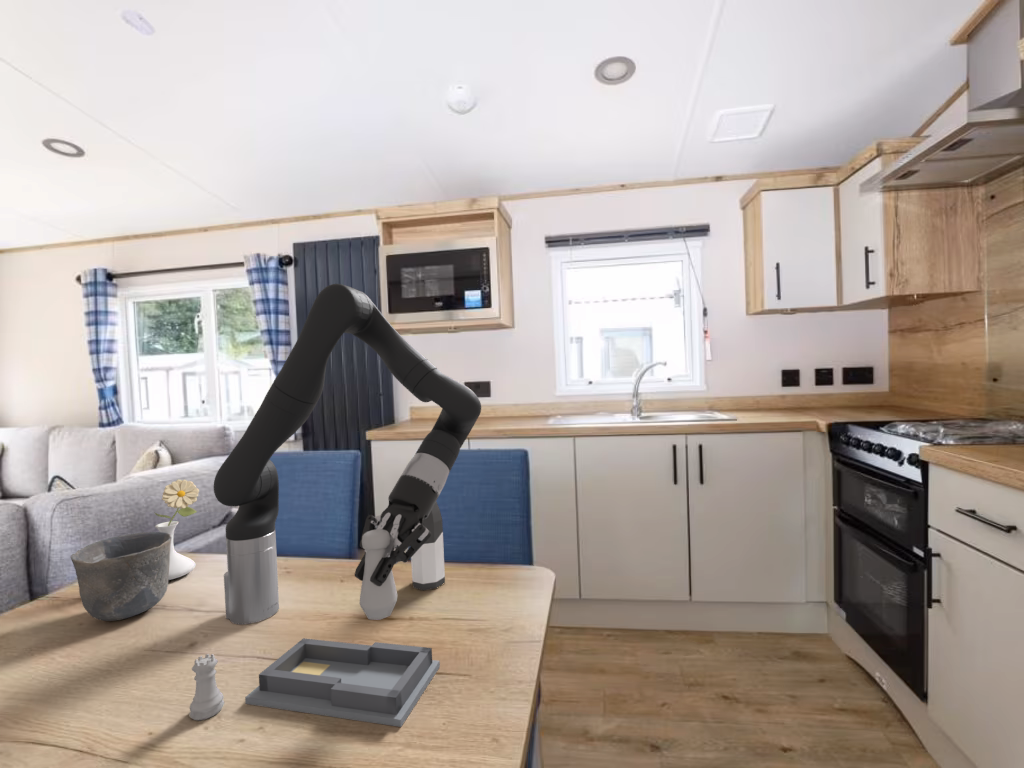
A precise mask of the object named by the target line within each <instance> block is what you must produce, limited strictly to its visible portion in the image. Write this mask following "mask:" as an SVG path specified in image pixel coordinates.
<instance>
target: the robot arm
mask: <svg viewBox="0 0 1024 768" xmlns="http://www.w3.org/2000/svg"><path fill="white" fill-rule="evenodd" d="M344 333H346V334H352V336H354V337H356V338H358V339H359V340H360V341H362V342H364V343H365V344H366V345H367V346H369V347H370V348H371V349H372V350H373V351H374V352H375V353H376V354H377V355H378V356H379V357H380V359H381V360H382V362H383V363H384V365H385V366H386V368H387V370H388V371H389V372H390V373H391V374H392V376H393V377H394V378H395V379H396V380H397V381H398V382H399V383H400V384H401V385H402V386H403V387H404V388H405V389H406V390H408V392H410V393H411V394H412V396H414V397H415V398H416V399H418V401H419V402H420V401H421V402H422V403H429V402H433V403H435V405H437V406H439V407H440V408H441V411H440V413H439V414H438V417H437V419H436V421H435V423H434V425H433V427H432V429H431V431H430V432H429V433H428V434H427V435H426V436H425V437H424V439H423V440H422V441H421V444H420V445H419V447H418V449H417V451H416V452H415V454H414V456H413V457H412V458H411V459H410V461H409V462H408V463H407V464H406V466H405V467H404V470H403V471H402V473H401V474H400V476H399V478H398V480H397V482H396V483H395V485H394V486H393V488H392V490H391V492H390V493H389V495H388V505H387V507H386V508H385V509H384V510H383V511H382V512H381V514H380V515H377V516H374V515H372V514H368V515H367V516H366V519H365V522H364V527H363V530H362V534H361V538H360V541H359V547H360V548H361V549H362V550H363V551H364V555H363V556H362V558H361V560H360V561H359V563H358V565H357V567H356V568H355V572H354V578H356V579H358V580H359V581H361V582H362V581H363V575H364V566H365V556H366V550H365V549H364V548H363V547H362V537H363V535H364V534H365V533H366V532H368V531H371V530H376V529H382V530H386V531H388V532H389V534H390V544H389V545H388V546H387V548H386V551H385V553H384V557H385V558H383V557H382V559H381V560H380V561H379V563H378V565H377V567H376V568H375V570H374V572H373V574H372V576H371V578H370V581H371V582H372V583H373V584H375V585H377V586H381V585H382V584H383V583H384V582H385V581H386V579H387V577H388V575H389V573H390V572H391V570H392V571H393V567H394V566H395V565H397V564H398V563H399V562H402V563H407V562H409V560H411V557H412V556H413V555H414V554H415V553H416V552H417V550H418V549H419V548H420V547H421V546H422V545H423V544H424V543H425V542H426V541H427V540H428V539H429V537H430V536H431V532H430V531H429V530H428V529H427V528H426V527H424V526H423V525H422V524H423V519H426V518H427V517H428V516H429V514H430V512H431V510H432V508H433V506H434V504H435V502H437V500H438V498H440V497H439V496H440V495H441V492H443V491H442V490H443V489H444V488H445V485H446V483H447V480H448V477H449V474H450V472H451V471H452V468H453V467H454V464H455V463H456V461H457V458H458V457H459V454H460V452H461V448H462V447H463V445H464V443H465V441H466V439H467V438H468V436H469V435H470V434H471V431H472V429H473V428H474V426H475V425H476V422H478V421H477V420H478V419H479V417H480V415H481V412H482V403H481V400H480V399H479V397H478V395H477V394H476V393H475V392H474V391H473V390H472V389H470V388H469V387H468V386H466V385H465V384H464V383H461V382H459V381H458V380H455V379H454V378H452V377H450V376H449V375H447V374H444V373H443V372H442V371H441V370H440V369H439V368H438V367H437V366H435V365H434V364H433V363H432V362H431V361H430V360H429V359H428V358H426V357H425V356H424V355H423V354H422V353H421V352H420V351H419V350H418V349H417V348H415V347H414V346H413V344H411V343H409V342H408V341H407V340H406V339H405V337H403V336H402V335H401V334H400V333H399V332H398V331H397V330H396V329H395V328H394V327H393V326H392V325H391V323H390V322H389V321H388V320H387V318H386V317H385V316H384V315H383V313H382V311H380V309H379V308H378V307H377V306H376V304H375V303H374V302H373V301H372V299H371V298H370V297H369V296H368V295H367V294H366V293H365V292H363V291H362V290H358V289H357V288H353V287H351V286H349V285H345V284H341V283H333V284H328V286H325V287H324V288H323V289H322V290H320V292H319V293H318V294H317V296H316V298H315V300H314V301H313V303H312V306H311V308H310V311H309V313H308V315H307V317H306V320H305V322H304V325H303V327H302V329H301V332H300V334H299V336H298V338H297V339H296V341H295V344H294V345H293V348H292V349H291V351H290V353H289V354H288V356H287V358H286V360H285V362H284V363H283V365H282V367H281V369H280V371H279V372H278V374H277V375H276V377H275V378H274V381H273V382H272V384H271V385H270V387H269V389H268V391H267V393H265V396H264V399H263V400H262V403H261V405H260V406H259V408H258V409H257V411H256V413H255V414H254V416H253V418H252V419H251V421H250V423H249V424H248V427H247V428H246V430H245V431H244V433H243V435H242V436H241V438H240V439H239V441H238V442H237V444H236V445H235V446H234V448H233V449H232V450H231V452H230V453H229V454H228V455H227V457H226V459H225V460H224V461H223V462H222V464H221V466H220V467H219V468H218V470H217V472H216V474H215V477H214V480H213V481H214V482H213V493H214V496H215V498H216V499H217V501H218V502H219V503H220V504H222V505H224V506H226V507H238V509H237V510H236V512H235V514H234V516H233V517H231V519H229V521H228V522H227V523H226V526H225V543H226V545H225V546H226V562H227V563H226V565H227V567H226V568H227V571H226V572H224V574H223V583H224V584H223V586H224V605H225V606H224V608H225V619H226V620H227V619H228V620H229V621H230V622H231V623H232V624H236V625H250V624H255V623H258V622H261V621H264V620H267V619H269V618H271V617H273V616H274V615H276V613H278V611H279V610H278V609H280V603H279V602H280V599H279V578H278V577H279V576H278V574H279V573H278V556H277V552H278V551H277V536H276V522H277V521H276V520H277V518H278V517H279V508H280V507H279V505H280V504H279V503H280V499H279V498H280V496H279V495H280V488H279V483H280V482H279V473H278V469H277V467H276V466H275V463H274V462H273V461H272V460H271V458H272V456H273V455H274V454H275V452H276V451H277V450H278V449H280V447H281V446H282V445H284V443H285V442H287V441H288V440H289V439H290V438H291V437H292V436H293V435H294V434H295V433H296V432H297V431H299V429H300V428H302V426H303V425H304V424H305V423H306V421H307V420H308V419H309V417H310V416H311V414H312V413H313V411H314V409H315V407H316V405H317V404H318V401H319V400H320V398H321V396H322V394H323V391H324V387H325V378H326V370H327V364H328V361H329V358H330V356H331V354H332V352H333V350H334V348H335V346H336V345H337V343H338V342H339V340H340V339H341V338H342V336H343V335H344Z"/></svg>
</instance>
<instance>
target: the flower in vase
mask: <svg viewBox="0 0 1024 768" xmlns="http://www.w3.org/2000/svg"><path fill="white" fill-rule="evenodd" d="M164 487H165V488H164V489H163V492H162V498H161V500H162V501H163V502H164V503H165V504H166V505H167V507H168V508H173V509H176V510H175V513H173V516H172V517H171V516H169V515H166V514H160V513H157V512H154V515H155V516H157V517H161V518H168V519H170V520H169V521H166V522H161V523H158V524H155V525H154V528H155V529H157V530H158V532H165V533H168V534H170V536H171V537H172V539H171V544H170V565H169V577H168V581H170V580H171V581H172V580H174V579H177V578H181V577H183V576H186V575H187V574H189V573H190V572H192V571H193V570H194V569H195V567H196V565H197V564H196V562H195V561H194V560H193V559H191V558H190V557H188V556H186V555H183V554H181V553H179V552H177V551H176V549H175V547H174V537H175V535H174V534H175V530H176V528H177V525H179V520H178V521H176V520H174V521H173V519H174V518H175V516H176V515H177V513H178V515H180V516H182V517H183V518H185V517H189V516H191V515H194V514H196V513H197V510H196V509H194V508H193V507H191V505H193V504H194V503H196V502H197V500H198V498H197V497H199V493H200V489H199V488H197V485H195V484H194V482H193V481H191V480H187V479H183V480H182V479H177V480H175V481H171V483H170V484H167V485H165V486H164ZM189 506H190V507H189Z"/></svg>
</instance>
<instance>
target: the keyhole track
mask: <svg viewBox="0 0 1024 768" xmlns="http://www.w3.org/2000/svg"><path fill="white" fill-rule="evenodd" d="M432 651H433V650H432V647H425V646H418V645H417V646H415V645H407V644H406V645H405V644H396V643H389V642H388V643H387V642H377V641H375V642H373V644H371V645H370V644H361V643H360V644H359V643H349V642H340V641H332V640H324V639H323V640H322V639H313V638H304V637H303V638H301V640H299V641H298V642H297V643H296V644H294V645H293V646H292V647H291V648H289V649H288V650H286V652H285V653H283V654H282V655H281V656H280V657H278V658H277V659H276V660H274V661H273V662H272V663H271V664H270V665H268V666H267V667H266V668H265V669H263V671H261V672H260V673H259V674H258V683H259V685H258V686H257V687H256V688H254V689H253V690H251V692H250V693H248V694H247V695H246V696H245V699H244V700H245V701H244V703H245V705H250V706H251V705H252V706H257V707H258V706H259V707H264V708H265V707H266V708H271V709H272V708H273V709H279V710H283V711H284V710H286V711H292V712H298V713H299V712H300V713H306V714H312V715H318V716H326V717H333V718H338V719H345V720H353V721H358V722H359V721H360V722H365V723H373V724H379V725H385V726H386V725H387V726H393V727H400V728H402V726H403V725H404V724H405V722H406V720H407V719H408V717H409V715H410V714H411V713H412V711H413V710H414V708H415V706H416V705H417V703H418V702H419V700H420V698H421V697H422V696H423V694H424V692H425V690H426V689H427V688H428V686H429V684H430V683H431V681H432V680H433V678H434V677H435V676H436V673H437V672H438V671H439V669H440V667H441V662H440V660H437V659H435V660H434V659H433V652H432Z"/></svg>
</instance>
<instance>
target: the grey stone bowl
mask: <svg viewBox="0 0 1024 768" xmlns="http://www.w3.org/2000/svg"><path fill="white" fill-rule="evenodd" d="M171 539H172V537H171V536H170V534H168V533H165V532H159V531H149V532H148V531H145V532H135V533H128V534H122V535H117V536H113V537H110V538H105V539H102V540H98V541H95V542H93V543H91V544H88V545H86V546H83V548H80V549H78V550H77V551H76V552H75V553H72V554H71V555H70V560H71V561H72V564H73V567H74V570H75V574H76V578H77V584H78V590H79V591H78V592H79V597H80V600H81V603H82V606H83V608H84V610H86V611H87V613H88V614H89V615H90V616H91V617H92V618H94V619H95V620H99V621H105V622H106V621H107V622H113V621H120V620H121V621H122V620H126V619H128V618H132V617H134V616H137V615H139V614H141V613H143V612H146V611H148V610H149V609H151V608H153V607H154V606H156V605H157V604H158V603H159V602H161V601H162V599H163V598H164V596H165V594H166V593H167V590H168V585H169V580H168V577H169V565H170V544H171Z"/></svg>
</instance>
